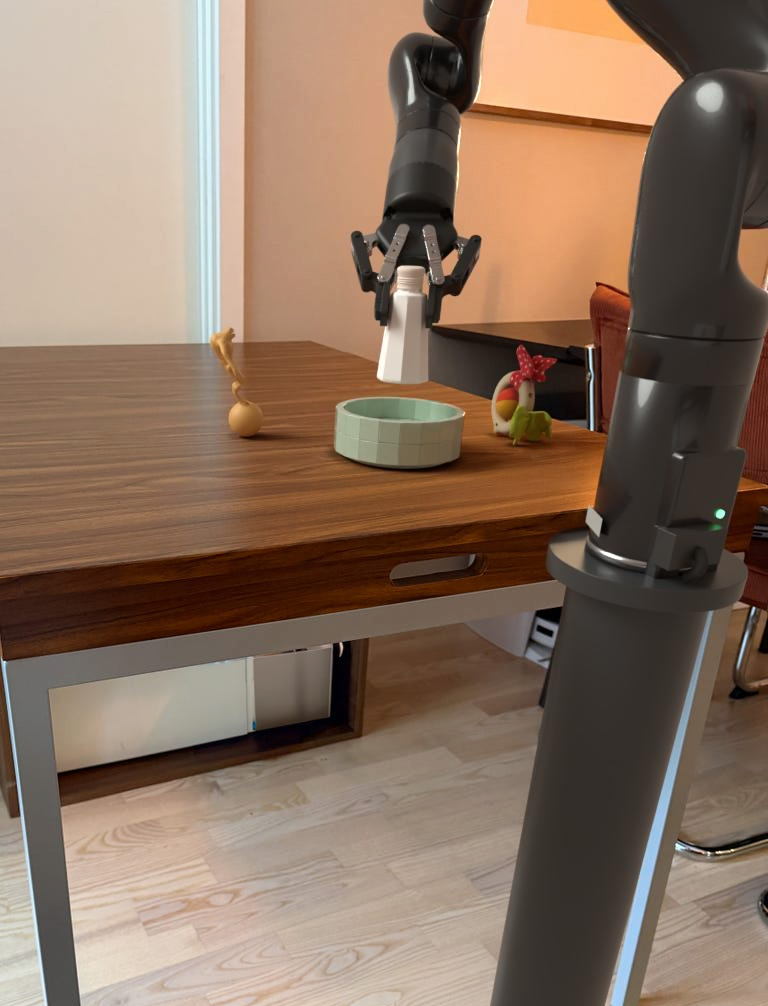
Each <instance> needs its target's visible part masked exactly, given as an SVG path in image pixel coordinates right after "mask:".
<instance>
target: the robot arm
mask: <svg viewBox="0 0 768 1006" xmlns="http://www.w3.org/2000/svg"><path fill="white" fill-rule="evenodd" d="M605 1H606V3H607V4H608V6H609V7H610V9H612V11H613V12H614V13H615V14H616V15H617V17H619V19H620V20H621V21H622V22H623V23H624V24H625V25H626V26H627V27H628V28H629V29H630V30H631V31H632V32H633V33H634V34H635V35H636V36H637V37H638V38H639V39H641V40H642V42H643V43H645V44H646V45H647V46H648V47H649V48H650V49H651V50H652V51H653V52H654V53H655V54H657V55H658V56H659V58H661V59H662V60H663V61H664V62H665V63H666V64H667V65H668V66H670V68H671V69H672V70H674V71H675V73H676V74H677V75H678V77H680V79H681V80H682V82H680V84H679V85H677V86H676V87H675V89H674V90H673V91H672V92H671V93H670V95H669V96H668V97H667V99H666V100H665V102H664V104H663V105H662V107H661V109H660V111H659V112H658V114H657V116H656V119H655V121H654V123H653V126H652V128H651V130H650V134H649V137H648V141H647V143H646V147H645V151H644V155H643V160H642V163H641V164H642V165H641V170H640V176H639V182H638V188H637V197H636V206H635V213H634V219H633V228H632V234H631V235H632V236H631V241H630V242H631V243H630V250H629V257H628V264H627V266H628V267H627V274H626V275H627V276H626V277H627V280H626V282H627V290H628V291H627V292H628V297H629V304H630V311H629V318H628V324H627V329H626V335H625V340H624V341H625V342H624V346H623V351H622V356H621V361H620V367H619V371H618V376H617V382H616V386H615V387H616V388H615V393H614V398H613V404H612V409H611V413H610V419H609V423H608V425H609V426H608V429H607V435H606V439H605V445H604V449H603V450H604V451H603V456H602V460H601V466H600V471H599V477H598V481H597V485H596V486H597V487H596V492H595V496H594V503H593V507H592V506H591V505H590V504H588V507H587V512H586V517H585V524H587V526H590V529H589V533H588V534H587V539H586V544H585V549H586V551H587V552H588V553H589V554H590V555H591V556H592V557H594V558H595V559H597V560H599V561H601V562H603V563H606V564H608V565H611V566H614V567H617V568H620V569H624V570H628V571H633V572H637V573H642V574H645V575H648V576H650V577H652V578H654V579H662V578H669V577H676V576H682V578H683V580H684V581H685V582H688V583H690V582H692V581H694V580H696V579H698V578H700V577H701V576H703V575H704V574H705V572H711V571H716V570H717V567H718V564H719V563H720V559H721V555H722V552H723V549H725V543H726V540H727V536H728V534H729V533H728V532H729V525H730V521H731V517H732V513H733V509H734V506H735V503H736V498H737V494H738V491H739V487H740V483H741V479H742V476H743V471H744V469H745V468H744V467H745V464H746V460H747V456H748V453H747V450H746V449H744V448H742V447H739V446H738V443H739V440H740V435H741V432H742V428H743V424H744V420H745V416H746V413H747V409H748V406H749V401H750V398H751V397H750V396H751V394H752V390H753V385H754V381H755V378H756V373H757V370H758V366H759V363H760V359H761V354H762V350H763V347H764V342H765V338H764V337H766V335H767V332H768V292H767V291H766V290H764V289H763V288H761V287H759V285H757V284H755V283H754V282H752V281H751V280H750V279H749V278H748V277H747V275H746V274H745V272H744V271H743V269H742V267H741V264H740V260H739V249H740V239H741V234H742V230H743V231H744V230H746V231H747V230H765V229H768V0H605ZM494 3H495V0H423V1H422V16H423V19H424V21H425V23H426V25H427V26H428V28H429V29H430V30H432V31H433V33H435V34H436V35H432V34H429V33H425V32H419V31H418V32H417V31H414V32H410V33H407V34H405V35H404V36H403V37H401V39H399V40H398V41H397V42H396V44H395V45H394V47H393V49H392V51H391V54H390V57H389V60H388V64H387V65H388V66H387V88H388V95H389V100H390V104H391V108H392V111H393V116H394V121H395V127H396V129H395V137H394V144H393V153H392V157H391V159H390V163H389V167H388V173H387V180H386V188H385V197H384V203H383V212H382V218H381V223H380V224H379V225H378V227H377V228H376V230H375V232H374V233H370V234H365V235H364V234H363V232H362V231H360V230H354V231H352V232H351V234H350V247H351V249H350V250H351V252H350V253H351V257H352V260H353V264H354V268H355V271H356V275H357V278H358V279H357V280H358V282H359V286H360V289H361V291H362V292H363V293H371V292H372V293H374V294H375V298H374V304H373V305H374V306H373V317H374V320H375V321H379V326H380V327H385V326H387V322H388V312H389V301H390V296H391V293H392V289H393V288H394V285H395V284H397V280H398V278H397V277H398V273H397V268H398V267H400V266H421V267H423V268H425V274H424V277H425V279H426V284H427V285H428V294H427V296H428V303H427V313H426V325H425V328H428V330H429V329H431V330H433V324H439V322H440V320H441V315H442V304H443V299H444V298H445V297H446V296H448V295H450V296H451V297H458V296H460V295H461V293H462V292H463V290H464V288H465V285H466V284H467V282H468V280H469V278H470V276H471V274H472V273H473V270H474V269H475V267H476V265H477V263H478V261H479V259H480V254H481V249H482V248H481V247H482V240H483V239H482V237H481V235H479V234H472V235H471V236H470V237H469V238H467V237H463V236H460V235H459V232H458V230H457V228H456V226H455V220H456V219H455V218H456V209H457V199H458V192H459V178H460V177H459V176H460V162H459V156H460V155H459V154H460V145H461V144H460V143H461V133H462V118H461V115H463V114H465V113H466V112H468V111H469V110H470V109H471V108H472V107H473V106H474V104H475V102H476V101H477V99H478V97H479V94H480V91H481V87H482V81H483V66H484V47H485V46H484V45H485V37H486V31H487V28H488V27H487V26H488V22H489V19H490V14H491V12H492V8H493V7H494V6H493V5H494ZM374 248H377V249H378V250H379V252H380V253H381V255H382V256H383V257H384V261H383V264H382V266H381V268H380V270H379V273H378V272H376V271H373V267H372V263H371V260H370V257H371V256H373V251H374ZM454 251H456V252H457V254H456V258H457V261H456V263H455V265H454V267H453V268H452V270H451V273H450V274H447V275H445V274H444V270H443V265H442V262H443V261H444V260H445V259H446V258H447V257H448V256H450V255H451V254H452V252H454Z"/></svg>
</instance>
